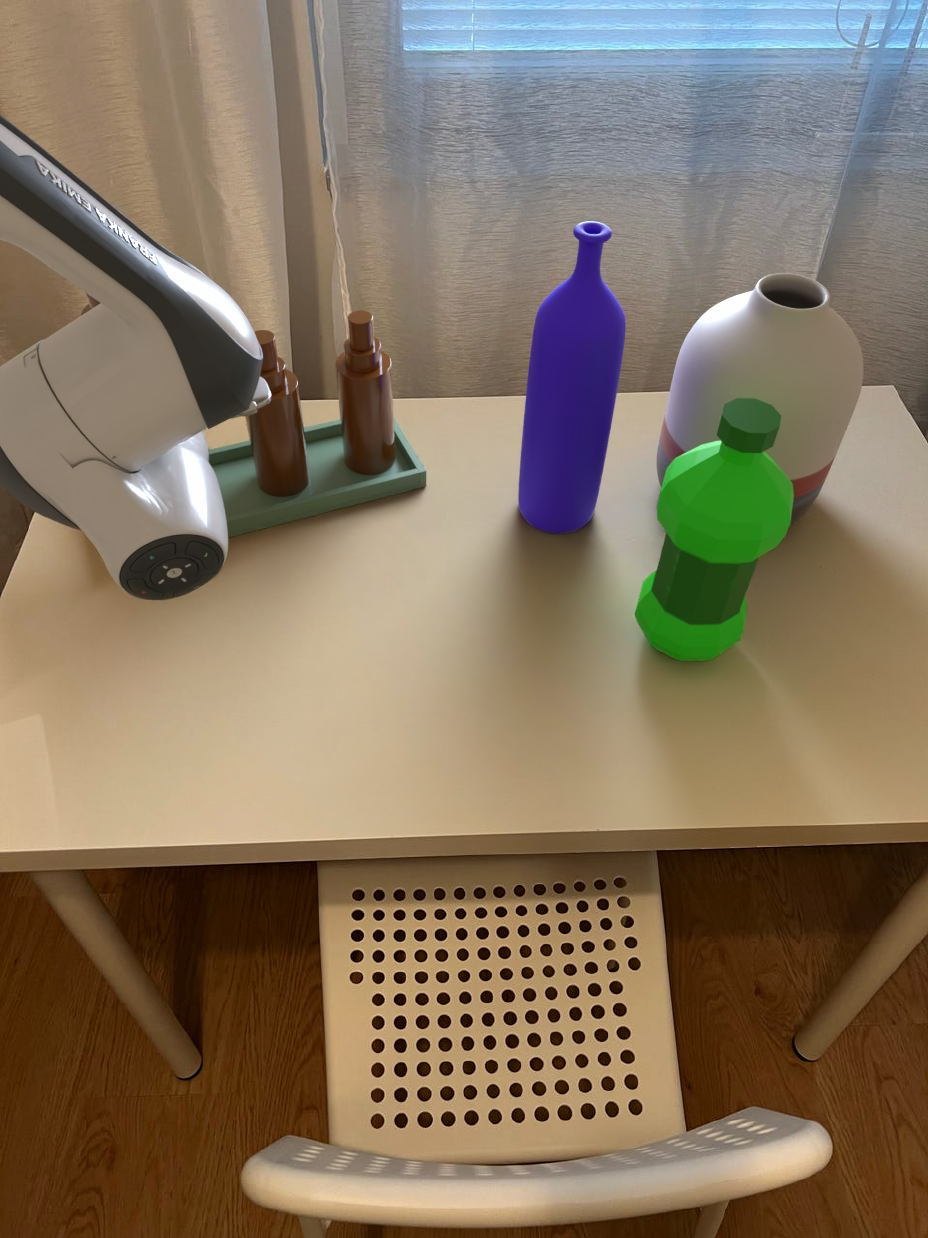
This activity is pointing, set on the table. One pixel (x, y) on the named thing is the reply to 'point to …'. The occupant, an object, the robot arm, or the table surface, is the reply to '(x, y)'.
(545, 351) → the bottle
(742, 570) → the plastic bottle
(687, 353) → the vase
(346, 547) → the table surface
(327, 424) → the tray
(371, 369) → the row bottle
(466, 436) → the table surface
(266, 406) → the row bottle
